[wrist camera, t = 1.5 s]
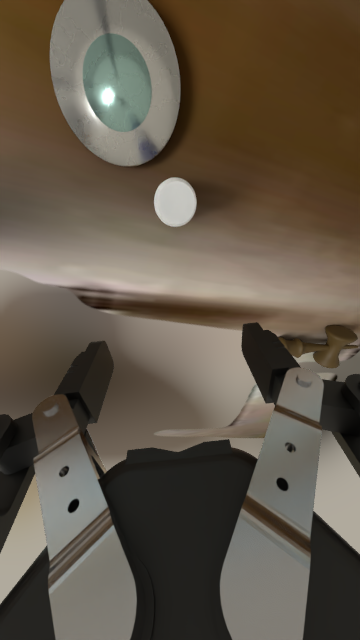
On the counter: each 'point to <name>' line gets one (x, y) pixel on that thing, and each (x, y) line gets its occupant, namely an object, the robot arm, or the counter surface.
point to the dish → (115, 77)
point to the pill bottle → (175, 202)
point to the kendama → (324, 346)
